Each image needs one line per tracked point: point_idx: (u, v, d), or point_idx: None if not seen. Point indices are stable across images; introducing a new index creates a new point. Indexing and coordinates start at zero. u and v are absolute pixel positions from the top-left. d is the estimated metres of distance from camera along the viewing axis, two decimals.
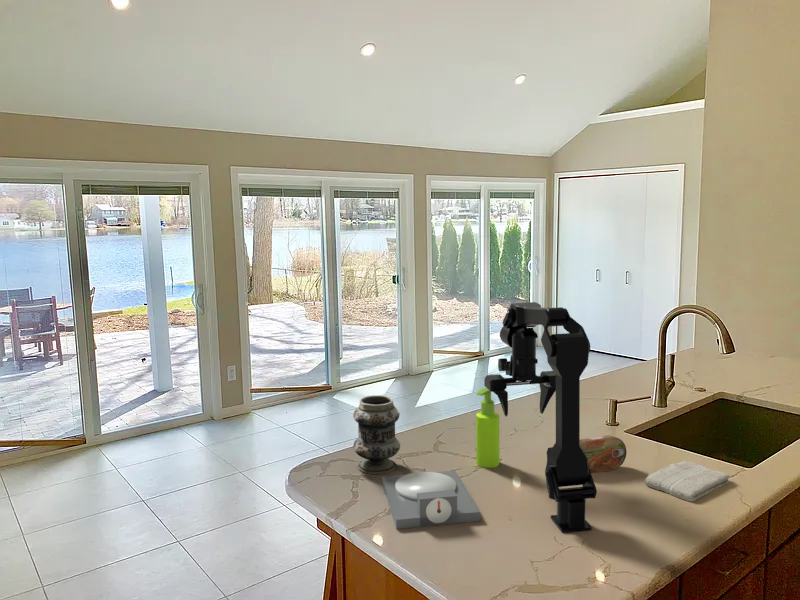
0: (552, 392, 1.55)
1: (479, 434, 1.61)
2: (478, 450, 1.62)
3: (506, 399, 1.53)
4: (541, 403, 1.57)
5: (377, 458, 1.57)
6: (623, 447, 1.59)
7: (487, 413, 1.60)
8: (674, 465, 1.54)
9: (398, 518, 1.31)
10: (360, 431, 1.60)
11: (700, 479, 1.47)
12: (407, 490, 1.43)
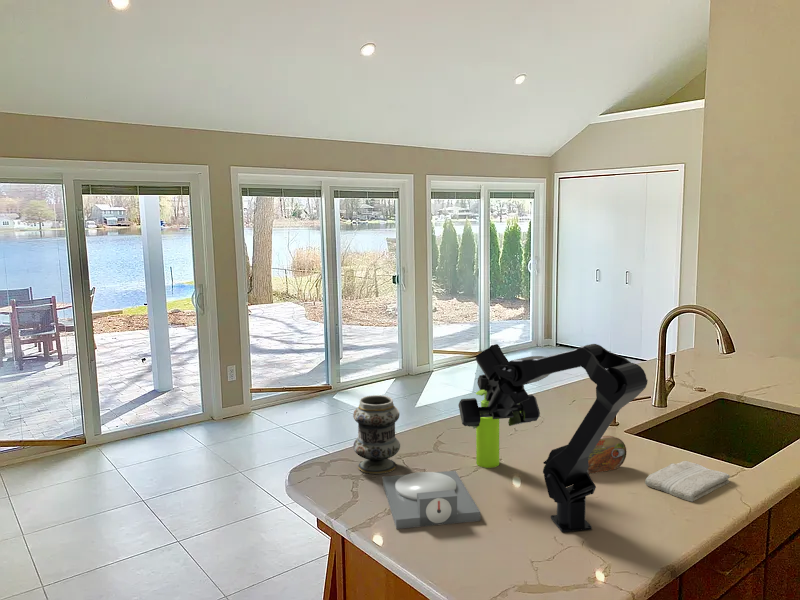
0: (525, 422, 1.52)
1: (479, 434, 1.61)
2: (478, 450, 1.62)
3: (476, 426, 1.51)
4: (511, 419, 1.56)
5: (377, 458, 1.57)
6: (623, 447, 1.59)
7: None
8: (674, 465, 1.54)
9: (398, 518, 1.31)
10: (360, 431, 1.60)
11: (700, 479, 1.47)
12: (407, 490, 1.43)
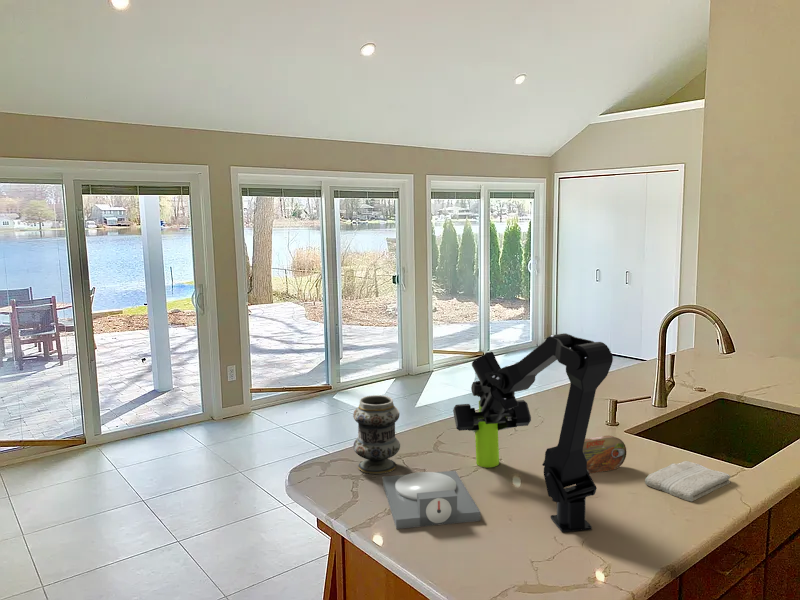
0: (511, 427, 1.58)
1: (478, 434, 1.61)
2: (477, 450, 1.62)
3: (476, 430, 1.58)
4: (498, 424, 1.62)
5: (377, 458, 1.57)
6: (623, 447, 1.59)
7: None
8: (675, 465, 1.54)
9: (398, 518, 1.31)
10: (360, 431, 1.60)
11: (700, 479, 1.46)
12: (407, 490, 1.43)
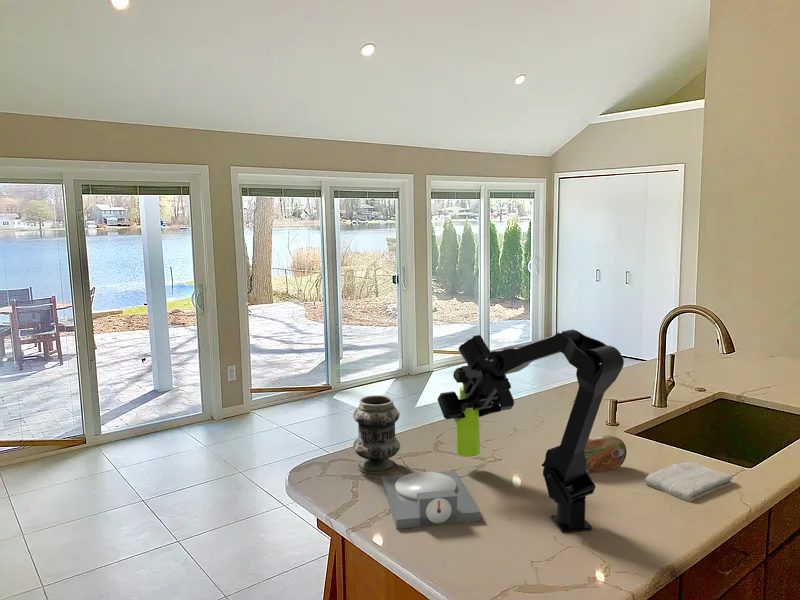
0: (494, 412, 1.56)
1: (460, 422, 1.57)
2: (459, 439, 1.57)
3: (461, 418, 1.54)
4: (479, 411, 1.59)
5: (377, 458, 1.57)
6: (623, 447, 1.59)
7: None
8: (676, 465, 1.54)
9: (398, 518, 1.31)
10: (360, 431, 1.60)
11: (701, 479, 1.46)
12: (407, 490, 1.43)
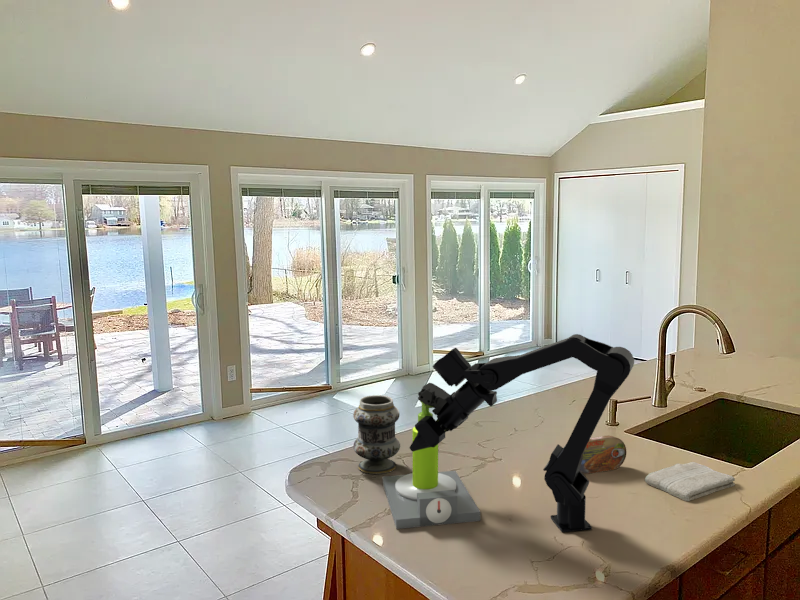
0: None
1: (426, 453, 1.42)
2: (424, 471, 1.42)
3: None
4: None
5: (377, 458, 1.57)
6: (623, 447, 1.59)
7: None
8: (679, 465, 1.54)
9: (398, 518, 1.31)
10: (360, 431, 1.60)
11: (701, 480, 1.46)
12: (407, 490, 1.43)
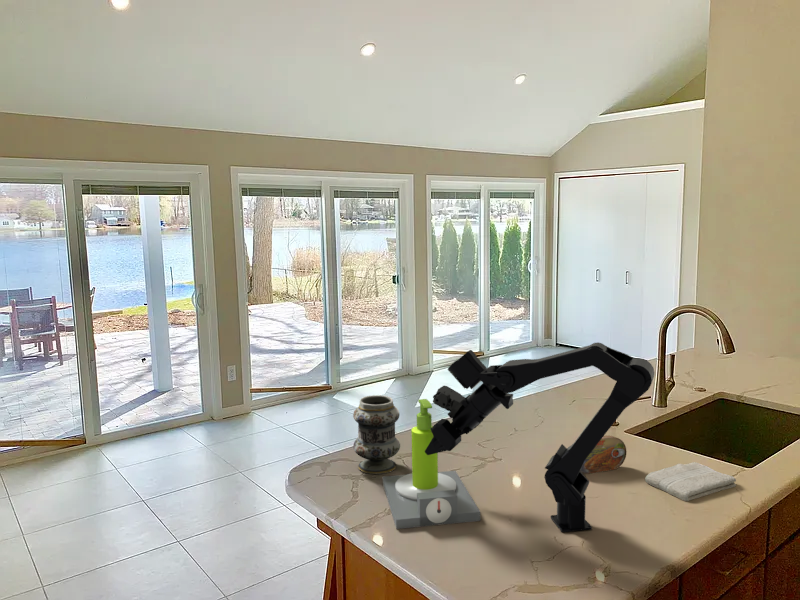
0: None
1: (425, 453, 1.42)
2: (423, 472, 1.42)
3: None
4: None
5: (377, 458, 1.57)
6: (623, 447, 1.59)
7: (429, 426, 1.43)
8: (680, 465, 1.54)
9: (398, 518, 1.31)
10: (360, 431, 1.60)
11: (701, 480, 1.46)
12: (407, 490, 1.43)
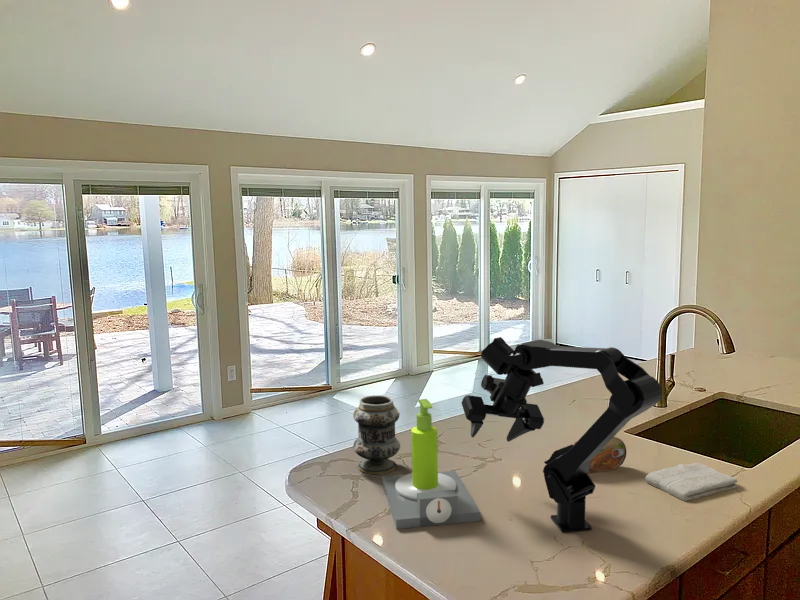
0: (527, 431, 1.44)
1: (425, 453, 1.42)
2: (423, 472, 1.42)
3: (478, 427, 1.42)
4: (511, 432, 1.48)
5: (377, 458, 1.57)
6: (623, 447, 1.59)
7: (429, 426, 1.43)
8: (682, 465, 1.54)
9: (398, 518, 1.31)
10: (360, 431, 1.60)
11: (702, 480, 1.46)
12: (407, 490, 1.43)
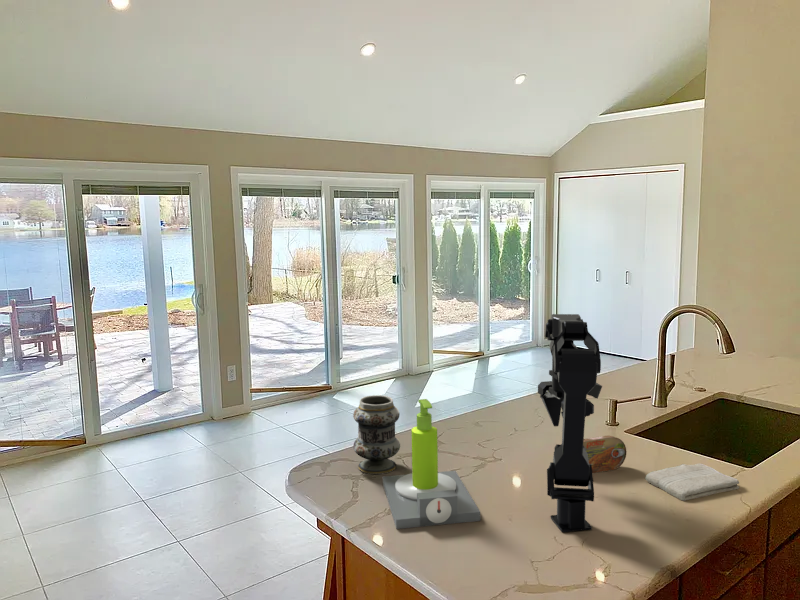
0: None
1: (425, 453, 1.42)
2: (423, 472, 1.42)
3: (546, 406, 1.52)
4: None
5: (377, 458, 1.57)
6: (623, 447, 1.59)
7: (429, 427, 1.43)
8: (684, 466, 1.54)
9: (398, 518, 1.31)
10: (360, 431, 1.60)
11: (702, 481, 1.46)
12: (407, 490, 1.43)
